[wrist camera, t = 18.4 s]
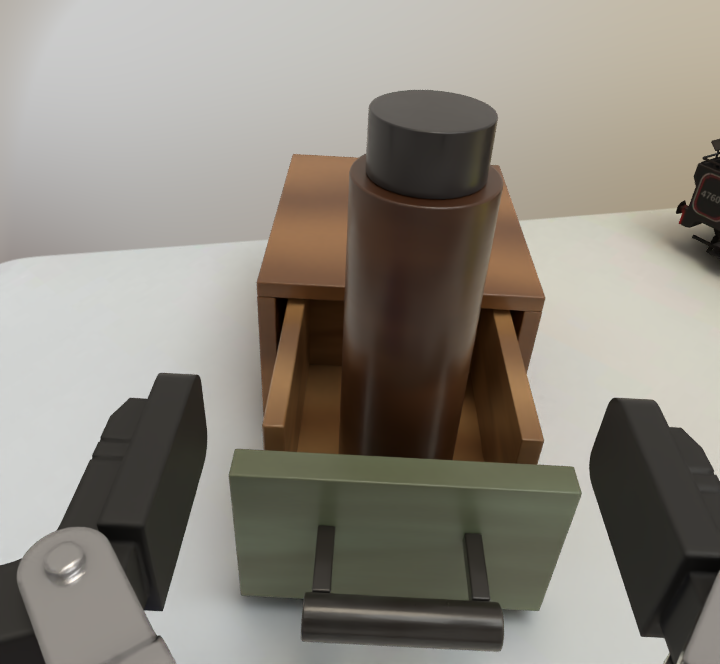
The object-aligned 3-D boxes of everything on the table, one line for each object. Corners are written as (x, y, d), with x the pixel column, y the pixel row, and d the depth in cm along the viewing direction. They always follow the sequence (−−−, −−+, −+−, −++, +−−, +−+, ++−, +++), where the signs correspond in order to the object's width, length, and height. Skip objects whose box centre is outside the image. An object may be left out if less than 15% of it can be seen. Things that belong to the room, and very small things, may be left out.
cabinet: (510, 438, 34) (546, 297, 29) (263, 424, 34) (256, 281, 29) (478, 284, 46) (499, 164, 41) (294, 274, 46) (292, 153, 41)
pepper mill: (334, 518, 27) (348, 134, 18) (340, 434, 31) (354, 80, 22) (452, 525, 27) (528, 144, 18) (443, 440, 31) (503, 89, 22)
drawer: (561, 719, 23) (616, 605, 19) (220, 702, 23) (201, 583, 19) (493, 381, 37) (516, 273, 33) (283, 369, 37) (280, 260, 33)
